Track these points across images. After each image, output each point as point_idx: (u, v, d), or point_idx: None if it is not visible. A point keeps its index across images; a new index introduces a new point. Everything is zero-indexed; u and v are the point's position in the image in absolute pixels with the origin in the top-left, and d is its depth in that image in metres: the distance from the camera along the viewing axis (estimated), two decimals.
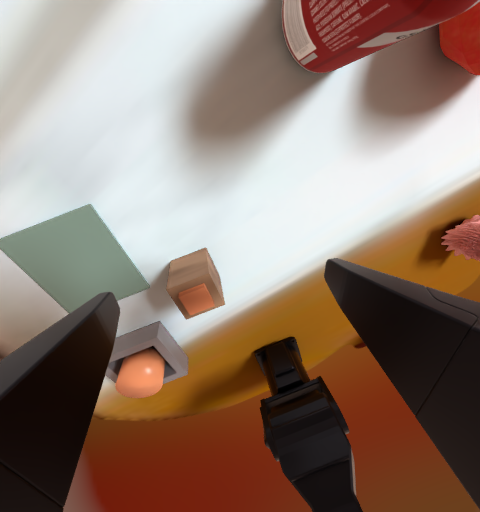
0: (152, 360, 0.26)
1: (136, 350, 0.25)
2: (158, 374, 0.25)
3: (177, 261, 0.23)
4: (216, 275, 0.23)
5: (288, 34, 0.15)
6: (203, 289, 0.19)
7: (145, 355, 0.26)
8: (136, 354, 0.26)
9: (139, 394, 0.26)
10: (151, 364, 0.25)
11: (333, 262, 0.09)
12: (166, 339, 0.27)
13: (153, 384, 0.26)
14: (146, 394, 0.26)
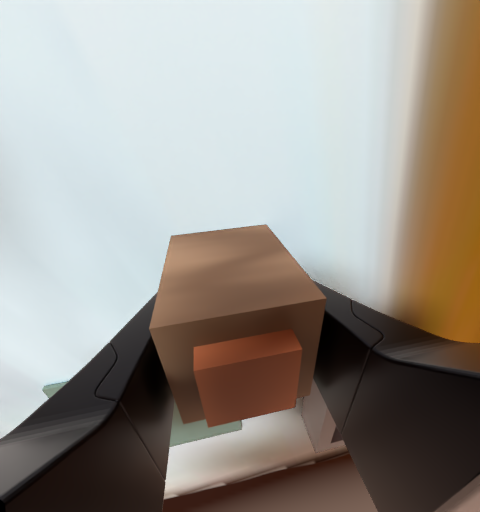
0: None
1: None
2: None
3: None
4: (241, 248, 0.08)
5: None
6: (204, 373, 0.05)
7: None
8: None
9: None
10: None
11: None
12: None
13: None
14: None
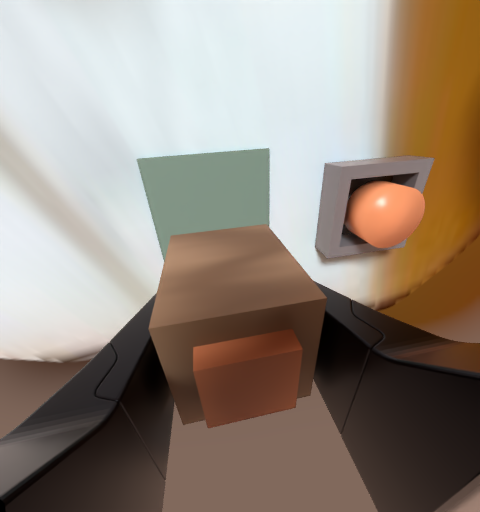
0: (372, 190, 0.17)
1: (344, 204, 0.18)
2: (398, 187, 0.16)
3: None
4: (241, 248, 0.08)
5: None
6: (203, 374, 0.05)
7: (358, 198, 0.18)
8: (350, 208, 0.19)
9: (408, 228, 0.18)
10: (376, 192, 0.17)
11: None
12: (355, 163, 0.18)
13: (408, 202, 0.17)
14: (416, 220, 0.18)
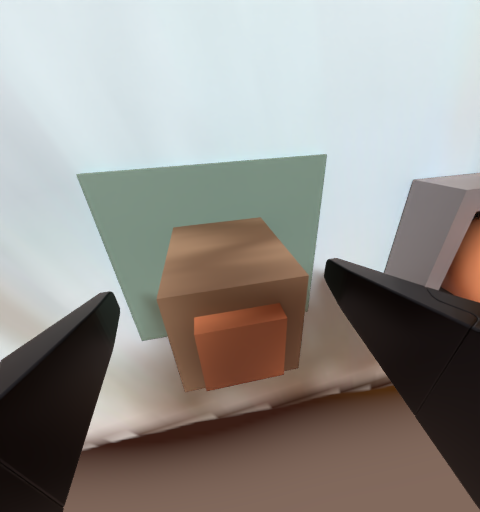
0: None
1: (452, 252, 0.10)
2: None
3: None
4: (236, 237, 0.08)
5: None
6: (203, 337, 0.06)
7: (478, 241, 0.10)
8: (457, 257, 0.11)
9: None
10: None
11: (333, 262, 0.09)
12: (476, 180, 0.10)
13: None
14: None
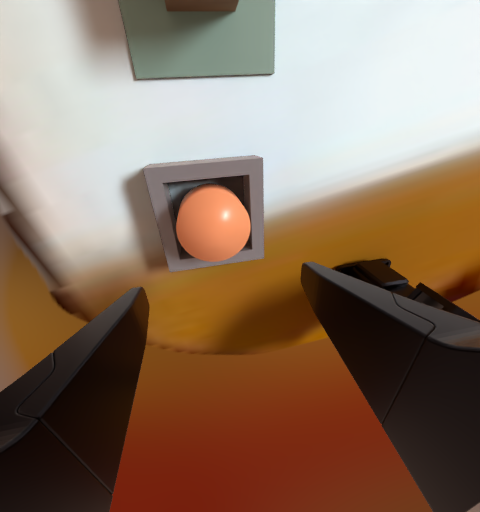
0: (239, 200, 0.16)
1: (221, 173, 0.15)
2: None
3: None
4: None
5: None
6: None
7: (228, 190, 0.16)
8: (215, 185, 0.16)
9: (204, 251, 0.16)
10: (240, 202, 0.15)
11: (307, 266, 0.09)
12: None
13: (233, 237, 0.15)
14: (213, 256, 0.16)
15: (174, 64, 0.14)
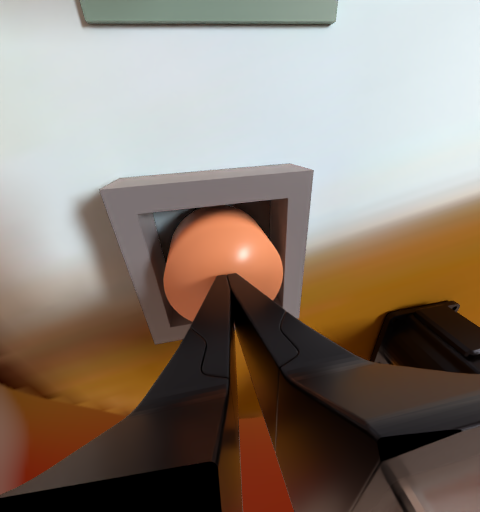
0: (264, 233, 0.10)
1: (241, 197, 0.09)
2: (281, 265, 0.09)
3: None
4: None
5: None
6: None
7: (247, 217, 0.10)
8: (226, 209, 0.10)
9: None
10: None
11: (228, 278, 0.09)
12: None
13: None
14: None
15: None
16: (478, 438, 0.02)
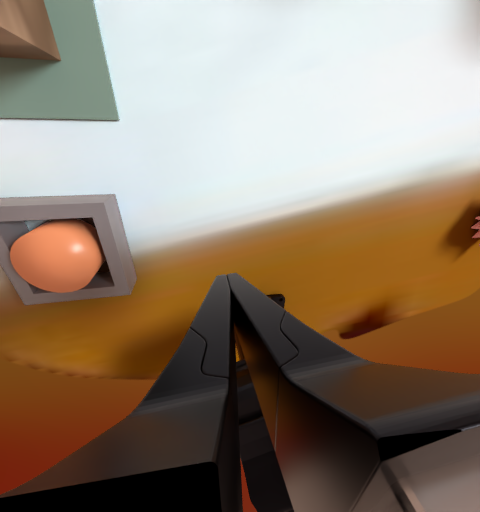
0: (88, 236, 0.17)
1: (59, 215, 0.15)
2: (91, 255, 0.16)
3: None
4: (29, 10, 0.11)
5: None
6: None
7: (79, 226, 0.17)
8: (65, 220, 0.16)
9: (48, 283, 0.16)
10: (85, 239, 0.16)
11: (228, 278, 0.09)
12: (116, 223, 0.17)
13: (77, 272, 0.16)
14: (60, 287, 0.17)
15: (2, 105, 0.14)
16: (478, 438, 0.02)
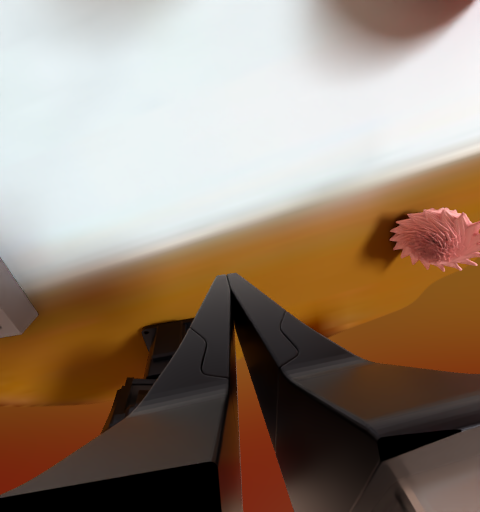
0: None
1: None
2: None
3: None
4: None
5: None
6: None
7: None
8: None
9: None
10: None
11: (228, 278, 0.09)
12: None
13: None
14: None
15: None
16: (478, 438, 0.02)
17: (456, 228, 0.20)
